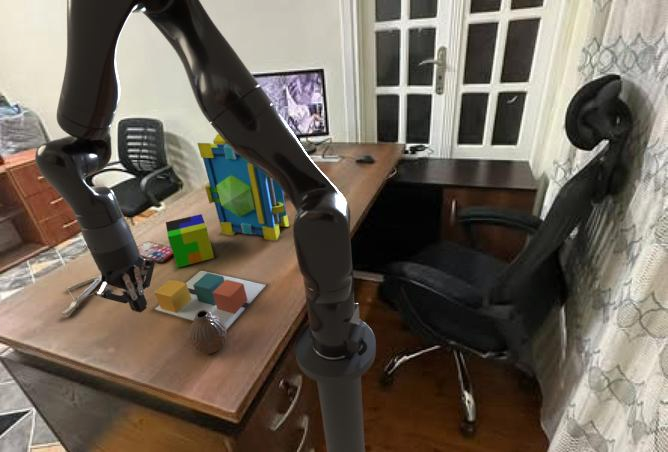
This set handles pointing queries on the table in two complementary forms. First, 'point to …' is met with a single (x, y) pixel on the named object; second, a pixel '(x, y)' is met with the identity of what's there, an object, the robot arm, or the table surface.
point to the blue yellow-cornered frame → (242, 193)
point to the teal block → (207, 287)
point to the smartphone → (155, 251)
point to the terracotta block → (230, 296)
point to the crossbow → (81, 296)
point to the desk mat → (228, 318)
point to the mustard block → (173, 296)
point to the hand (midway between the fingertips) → (141, 309)
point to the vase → (207, 332)
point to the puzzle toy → (189, 240)
